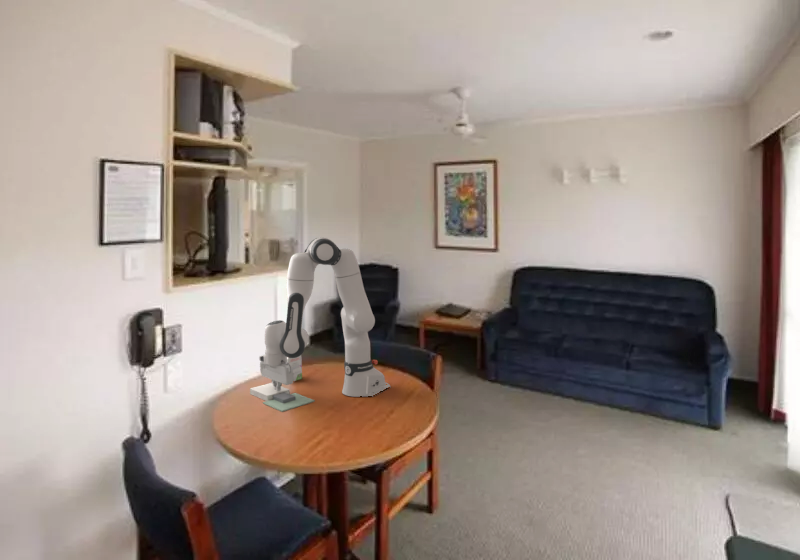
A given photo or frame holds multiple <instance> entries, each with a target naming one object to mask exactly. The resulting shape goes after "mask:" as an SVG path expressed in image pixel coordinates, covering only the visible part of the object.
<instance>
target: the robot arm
mask: <svg viewBox="0 0 800 560" xmlns="http://www.w3.org/2000/svg"><path fill="white" fill-rule="evenodd" d="M319 265H322V266H323V265H325V266H327V265H328V266H331V268H332V271H333V274H334V278H335V283H336V288H337V292H338V295H339V298H340V301H341V303H342V306H343V307H342V308H341V310H340V317H341V326H342V332H343V333H342V334H343V340H344V355H345V356H344V365H343V366H344V379H343V386H342V390H341V393H342V394H343V395H345V396H348V397H355V398H357V397H358V398H359V397H360V396H362V397H368V396H372V397H374V396H373V395H375V394H377V393H379V392H380V391H383V390H384V389H386V388H388V387H390V388H391V384H389V383H388V382H386V377H385V375H384V374H383V372H381V371H379V370H378V369H377V368H375V367H374V365H378V360H377V359H371V340H370V338H369V332H370V331H371V330H372V329H374V328H373V327H374V326H375V324H376V318H375V315H374V314H373V311H372V308H371V304H370V302H369V300H368V297H367V296H368V295H367V293H366V290H365V287H364V283H363V279H362V274H361V273H362V272H361V270H360V265H359V263H358V259H357V258H356V254H355V253H354V251H353V250H352V249H348V248H339V247H338V246H337V245H336V243H334V241H332V240H331V239H330V238H328V237H322V236H321V237H316V238H314V239H313V240H311V241H310V243H308V246H307V247H306V249H305V250H304V252H296V253H293V254H292V255H291V256H290V259H289V263H288V266H287V267H288V269H287V273H286V293H287V294H286V295H287V299H286V300H287V313H286V320H285V321H286V322H285V321H284V320H273V321H270V322H269V323H268V324H267V325H266V326H265V328H264V329H265V330H264V344H265V352H264V353H265V354H262V355H259V357H258V359H259V361H260V362H259V368H260V375H261V377H264V378H266V379H269V380H271V383H272V384H273V386H274V390H276V391H280V390H281V386H282V385H285V386H288V385H291V384H293V383H294V382H295V381H294V378H293V370H292V367H291V366H290V364H289V363H288V362H287V357H288V358H296V357H299V356H300V355H301V356H302V355H303V353H304V352H305V348H306V347H307V345H308V343H309V340H310V339H309V338H310V336H309V334H308V332H307V331H306V330H305V329H304V328H303V326H302V325H303V316H304V310H305V307H306V305H307V303H308V301H309V300H310V298H311V296H312V293H313V289H314V283H315V280H314V279H315V270H316V268H317V266H319ZM293 381H294V382H293ZM386 384H387V385H386ZM383 392H384V391H383ZM379 394H380V393H379ZM377 395H378V394H377ZM375 396H376V395H375Z"/></svg>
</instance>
